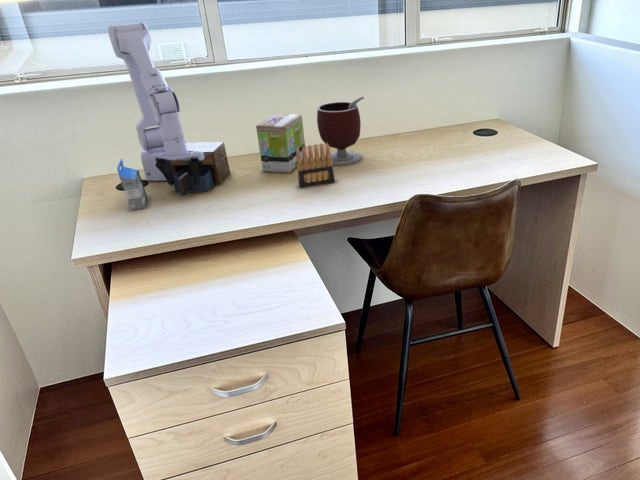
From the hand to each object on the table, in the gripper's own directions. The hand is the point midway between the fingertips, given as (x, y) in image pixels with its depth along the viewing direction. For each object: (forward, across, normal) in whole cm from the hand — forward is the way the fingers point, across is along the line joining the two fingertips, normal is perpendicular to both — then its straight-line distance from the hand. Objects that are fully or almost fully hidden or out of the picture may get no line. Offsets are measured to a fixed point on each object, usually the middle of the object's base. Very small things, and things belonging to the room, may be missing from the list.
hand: (184, 184), depth 162 cm
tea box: (+4, +23, +26) cm, 35 cm away
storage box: (+3, 0, +5) cm, 6 cm away
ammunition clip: (+4, +37, +8) cm, 38 cm away
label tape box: (+4, -12, -6) cm, 14 cm away
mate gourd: (+4, +42, +31) cm, 52 cm away
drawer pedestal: (+3, 0, +13) cm, 13 cm away
